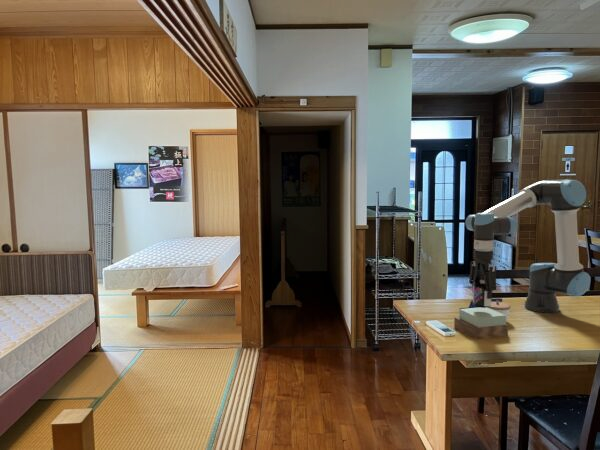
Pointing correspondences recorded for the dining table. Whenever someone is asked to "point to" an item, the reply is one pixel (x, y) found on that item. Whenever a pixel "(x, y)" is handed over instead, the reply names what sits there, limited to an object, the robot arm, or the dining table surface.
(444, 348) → the dining table surface
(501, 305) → the lidded jar
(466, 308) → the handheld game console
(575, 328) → the dining table surface
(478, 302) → the supplement container
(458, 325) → the walnut base block
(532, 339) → the dining table surface
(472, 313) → the sage top block
